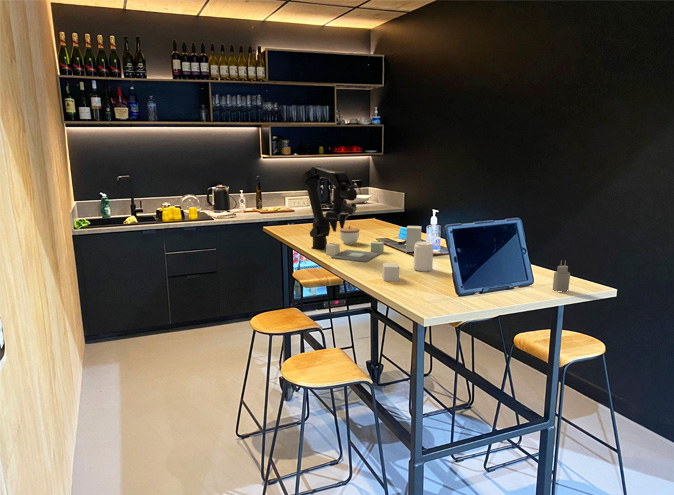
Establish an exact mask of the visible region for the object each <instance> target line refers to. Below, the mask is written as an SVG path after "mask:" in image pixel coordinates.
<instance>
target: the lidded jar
mask: <svg viewBox="0 0 674 495" xmlns="http://www.w3.org/2000/svg"><path fill="white" fill-rule="evenodd" d="M339 237H340V240H341V241H342V242H343V244H344V245H355V244H356V243H357V242H358V240H359V237H360V228H358V227H351V225H348V227H343V228H341V227H340V229H339Z"/></svg>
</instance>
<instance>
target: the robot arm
mask: <svg viewBox="0 0 674 495" xmlns="http://www.w3.org/2000/svg"><path fill="white" fill-rule="evenodd" d="M321 178H325V179H327V180H329V182H330V183H332V185H331V186H330V188H331V189H333V190H332V200H331V203H332V208H331V210H328V211H327V212H326V213H325V215H324V213H323V209H322V203H321V200H320V196H319V191H318V189H319V188H318V187H319V184H320V183H319V182H320V180H321ZM300 180H301V183H302V186H303V188H304V190H306V192H307V193H308V197H309V202H310V207H311V210H312V215H313V222H312V228H311V230H310V231H309V236H310V237H311V238H312V247H311V249H312V250H313V249H315V250H326V245H327V244H328V240H327V237H329V235H330V233H331V229H332V231H333V232H334V233H335V232H337V227H338V222H339V226H340V229H341V228H345V227H344V226H345V224H346V220H347V218H348V217H349V216H353V215H355V213H356V211H357V210H358V209H357V208H358V207H357V204H356V203H354V202H353V201H355V200H356V199H357V197H358V192H357V190H356V189H355V186H354V185H352V183H351V181H350V179H349V176H348V175H347V172H345V171H333V170H331V169H328V168H325V167H322V166H320V165H315V166H312V167H311V168H310V169H309V170H308V171H306V172H305V173H304V174H303V175H302V176H301V179H300ZM348 201H351V202H353V203H350V204H349V203H348Z"/></svg>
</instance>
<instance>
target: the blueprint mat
mask: <svg viewBox="0 0 674 495" xmlns="http://www.w3.org/2000/svg"><path fill="white" fill-rule="evenodd" d="M380 255H381V253H375V252H371V251H364V250H357V249H356V250H354V249H345V250H343V251H341V252H340V253H338V254H336V255H334V256H333V255H331V257H330V258H331V259H333V258H335V260H343V261H351V262H359V263H368V262H370V261H371V260H373V259H375V258H376V257H378V256H380Z"/></svg>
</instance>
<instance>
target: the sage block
mask: <svg viewBox="0 0 674 495" xmlns="http://www.w3.org/2000/svg"><path fill="white" fill-rule="evenodd" d="M384 243H385V242H384V241H377V240H375V241H372V242H371V243H370V252H375V253H380V254H382V253H384V251H385V250H384V249H385V248H384V246H385V244H384Z"/></svg>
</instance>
